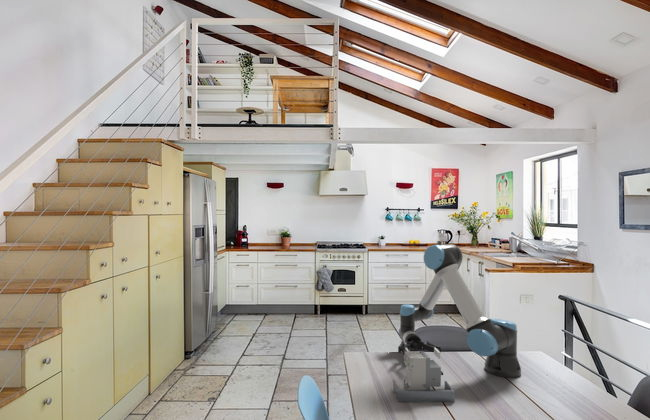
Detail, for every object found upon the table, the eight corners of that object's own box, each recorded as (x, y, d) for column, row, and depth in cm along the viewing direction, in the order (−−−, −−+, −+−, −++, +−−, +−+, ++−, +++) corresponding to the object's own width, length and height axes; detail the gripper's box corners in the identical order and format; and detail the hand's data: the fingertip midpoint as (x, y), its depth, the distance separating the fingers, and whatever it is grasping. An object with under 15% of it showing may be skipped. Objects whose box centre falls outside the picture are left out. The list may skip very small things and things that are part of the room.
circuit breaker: (444, 396, 147) (445, 357, 147) (409, 397, 146) (409, 358, 146) (437, 387, 154) (437, 350, 155) (403, 388, 153) (404, 351, 153)
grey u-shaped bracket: (446, 390, 151) (446, 380, 151) (454, 402, 142) (454, 391, 142) (392, 390, 151) (392, 380, 151) (397, 401, 142) (397, 391, 142)
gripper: (436, 347, 190) (451, 363, 169) (387, 348, 189) (396, 364, 168) (436, 333, 190) (451, 347, 169) (387, 333, 190) (396, 347, 168)
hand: (424, 355), depth 169 cm, fingers open, 13 cm apart
